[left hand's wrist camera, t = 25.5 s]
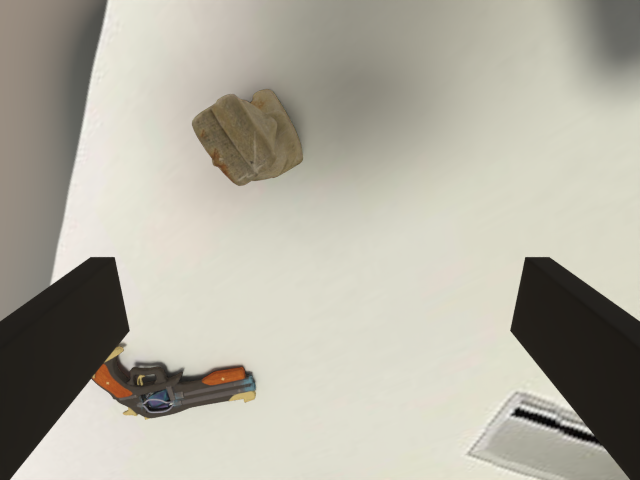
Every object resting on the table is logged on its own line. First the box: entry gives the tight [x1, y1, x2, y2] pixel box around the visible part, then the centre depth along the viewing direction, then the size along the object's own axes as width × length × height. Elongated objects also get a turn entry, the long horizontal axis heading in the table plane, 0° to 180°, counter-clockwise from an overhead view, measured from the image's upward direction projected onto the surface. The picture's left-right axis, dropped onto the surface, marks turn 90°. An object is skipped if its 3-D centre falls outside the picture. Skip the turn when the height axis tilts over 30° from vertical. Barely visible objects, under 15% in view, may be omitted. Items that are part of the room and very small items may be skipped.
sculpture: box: [192, 89, 303, 186], centre depth 30 cm, size 6×7×15 cm
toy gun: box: [91, 347, 256, 420], centre depth 46 cm, size 3×19×10 cm
